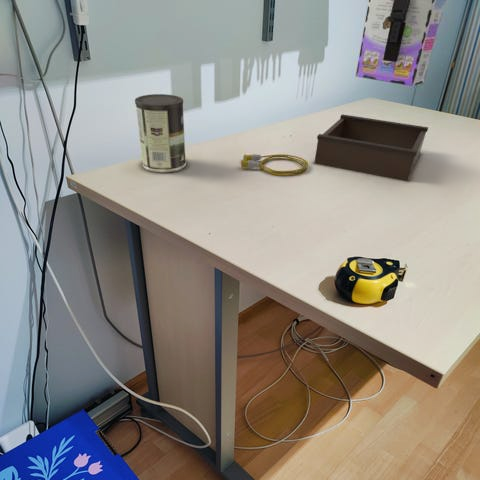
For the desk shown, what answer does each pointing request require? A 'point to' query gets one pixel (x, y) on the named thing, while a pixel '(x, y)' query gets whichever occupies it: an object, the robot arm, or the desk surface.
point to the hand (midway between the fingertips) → (393, 58)
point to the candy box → (412, 45)
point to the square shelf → (371, 146)
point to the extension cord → (252, 159)
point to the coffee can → (161, 132)
